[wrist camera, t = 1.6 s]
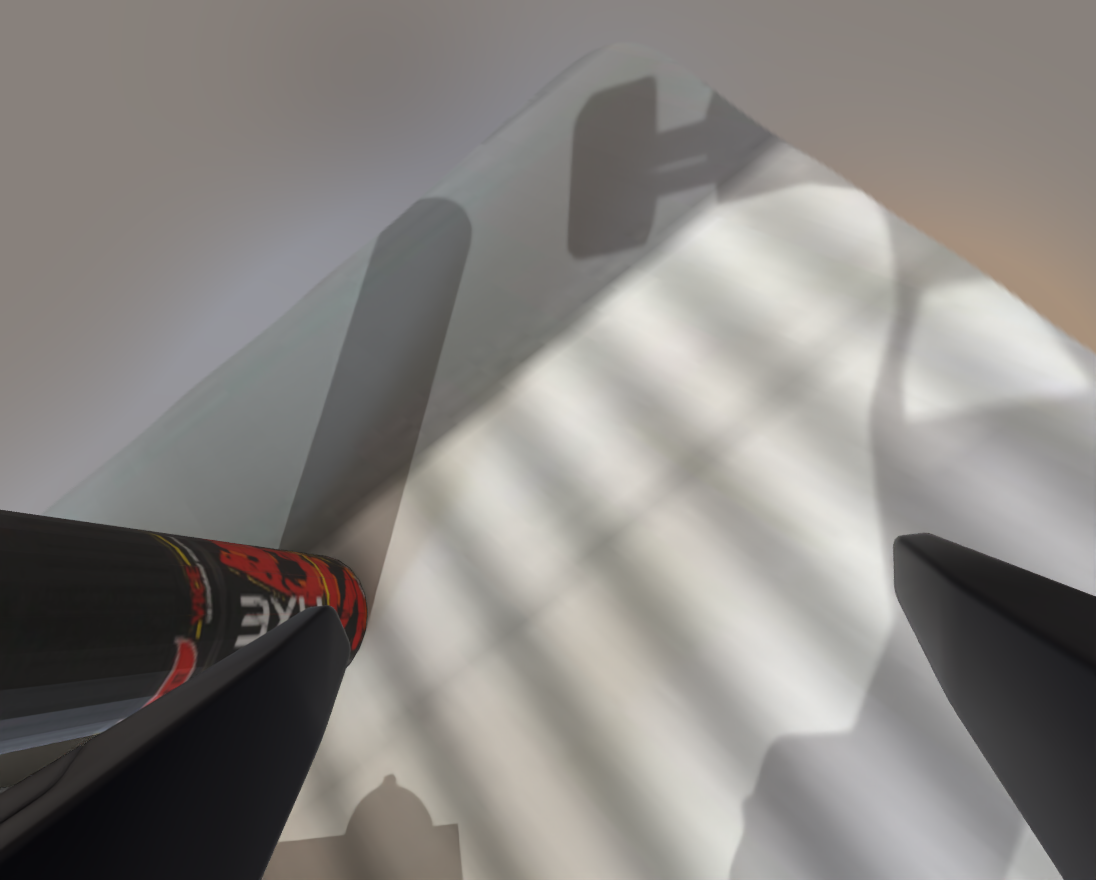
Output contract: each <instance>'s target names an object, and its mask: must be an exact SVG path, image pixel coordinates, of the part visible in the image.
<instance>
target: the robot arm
mask: <svg viewBox="0 0 1096 880" xmlns="http://www.w3.org/2000/svg"><path fill="white" fill-rule="evenodd" d="M893 561H894V587H895V592H896V596H897V599H898V601H899V603H900V605H901V607H902V609H903V611H904V613H905V615H906V617H907V619H908V621H909V623H910V625H911V627H912V629H913V631H914V633H915V635H916V637H917V639H918V641H919V643H920V645H921V647H922V649H923V651H924V653H925V655H926V657H927V659H928V661H929V663H930V665H931V667H932V669H933V671H934V673H935V675H936V677H937V679H938V681H939V683H940V685H941V687H942V689H943V691H944V693H945V695H946V697H947V698H948V700H949V702H950V704H951V705H952V707H953V708H954V710H955V712H956V713H957V715H958V717H959V718H960V720H961V721H962V723H963V724H964V726H965V727H966V729H967V731H968V732H969V734H970V735H971V737H972V738H973V740H974V741H975V743H976V744H977V746H978V748H979V749H980V751H981V752H982V754H983V755H984V757H985V758H986V760H987V762H988V763H989V765H990V766H991V768H992V769H993V771H994V772H995V774H996V775H997V777H998V779H999V780H1000V782H1001V783H1002V785H1003V786H1004V788H1005V789H1006V791H1007V792H1008V794H1009V796H1010V797H1011V799H1012V800H1013V802H1014V803H1015V805H1016V806H1017V808H1018V809H1019V811H1020V813H1021V814H1022V816H1023V817H1024V819H1025V820H1026V822H1027V823H1028V825H1029V826H1030V828H1031V830H1032V831H1033V833H1034V834H1035V836H1036V837H1037V839H1038V840H1039V842H1040V843H1041V845H1042V847H1043V848H1044V850H1045V851H1046V853H1047V854H1048V856H1049V857H1050V859H1051V860H1052V862H1053V864H1054V865H1055V867H1056V868H1057V870H1058V871H1059V873H1060V874H1061V876H1062V877H1063V879H1064V880H1096V596H1093V595H1090V594H1088V593H1085V592H1083V591H1080V590H1077V589H1075V588H1072V587H1069V586H1067V585H1064V584H1062V583H1059V582H1056V581H1054V580H1051V579H1048V578H1046V577H1043V576H1041V575H1038V574H1035V573H1033V572H1030V571H1027V570H1025V569H1022V568H1020V567H1017V566H1014V565H1012V564H1009V563H1006V562H1004V561H1001V560H999V559H996V558H993V557H991V556H988V555H985V554H983V553H980V552H978V551H975V550H972V549H970V548H967V547H964V546H962V545H959V544H957V543H954V542H951V541H949V540H946V539H943V538H941V537H938V536H936V535H933V534H930V533H917V534H909V535H902V536H898V537H897V538H896V539H895V540H894V544H893ZM350 651H351V649H350V642H349V639H348V637H347V634H346V632H345V630H344V627H343V625H342V623H341V621H340V618H339V616H338V614H337V612H336V610H335V609H334V608H333V607H332V606H329V605H324V606H316V607H309V608H307V609H305V610H303V611H301V612H300V613H298V614H296V615H295V616H293V617H292V618H290V619H288V620H287V621H285V622H283V623H282V624H280V625H278V626H277V627H275V628H273V629H272V630H270V631H268V632H267V633H265V634H264V635H262V636H260V637H259V638H257V639H255V640H254V641H252V642H250V643H249V644H247V645H245V646H244V647H242V648H240V649H239V650H237V651H236V652H234V653H232V654H231V655H229V656H227V657H226V658H224V659H222V660H221V661H219V662H217V663H216V664H214V665H212V666H211V667H209V668H208V669H206V670H204V671H203V672H201V673H199V674H198V675H196V676H194V677H193V678H191V679H189V680H188V681H186V682H184V683H183V684H181V685H180V686H178V687H176V688H175V689H173V690H171V691H170V692H168V693H166V694H165V695H163V696H161V697H160V698H158V699H156V700H155V701H153V702H152V703H150V704H148V705H147V706H145V707H143V708H142V709H140V710H138V711H137V712H135V713H133V714H132V715H130V716H128V717H127V718H125V719H124V720H122V721H120V722H119V723H117V724H115V725H114V726H112V727H110V728H109V729H107V730H105V731H104V732H102V733H100V734H99V735H97V736H96V737H94V738H92V739H91V740H89V741H87V742H86V743H85V744H84V746H79V747H77V748H76V749H74V750H72V751H71V752H69V753H67V754H66V755H64V756H62V757H61V758H59V759H57V760H56V761H54V762H53V763H51V764H49V765H47V766H46V767H44V768H42V769H41V770H39V771H37V772H36V773H34V774H32V775H31V776H29V777H27V778H26V779H24V780H22V781H21V782H19V783H17V784H16V785H14V786H12V787H11V788H9V789H7V790H5V791H4V792H2V793H0V880H261V879H262V877H263V874H264V872H265V870H266V867H267V865H268V863H269V861H270V858H271V856H272V854H273V851H274V849H275V847H276V845H277V842H278V840H279V838H280V835H281V833H282V831H283V829H284V826H285V824H286V822H287V819H288V817H289V815H290V812H291V810H292V808H293V806H294V803H295V801H296V799H297V796H298V794H299V792H300V790H301V787H302V785H303V783H304V780H305V778H306V776H307V774H308V771H309V769H310V767H311V764H312V762H313V760H314V758H315V755H316V753H317V750H318V748H319V745H320V743H321V741H322V738H323V735H324V732H325V729H326V727H327V724H328V721H329V718H330V715H331V712H332V709H333V706H334V703H335V700H336V697H337V694H338V691H339V688H340V685H341V682H342V679H343V676H344V673H345V670H346V667H347V664H348V661H349V657H350Z"/></svg>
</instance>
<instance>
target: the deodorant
mask: <svg viewBox="0 0 1096 880" xmlns="http://www.w3.org/2000/svg"><path fill="white" fill-rule="evenodd" d="M324 605H329V606H332V607H333V608H334V609H335V610H336V612H337V614H338V616H339V618H340V621H341V623H342V625H343V627H344V630H345V632H346V634H347V637H348V639H349V642H350V649H351V651H350V657H349V661H348V664H347V667H348V666H349V664H350V663H351V661H352V660H353V658H354V656H355V655H356V653H357V651H358V650H359V648H360V645H361V642H362V639H363V636H364V633H365V629H366V619H367V607H366V599H365V594H364V592H363V589H362V586H361V584H360V581H359V580H358V578H357V577H356V576H355V574H354V573H353V572H352V570H351V569H350V568H349V567H347V566H346V565H345V564H343V563H342V562H340V561H339V560H336V559H333V558H330V557H326V556H321V555H314V554H307V553H300V552H293V551H286V550H278V549H271V548H264V547H257V546H250V545H243V544H236V543H229V542H222V541H215V540H208V539H201V538H194V537H187V536H180V535H173V534H166V533H159V532H152V531H145V530H138V529H131V528H124V527H117V526H110V525H103V524H96V523H89V522H82V521H75V520H68V519H61V518H54V517H47V516H40V515H33V514H26V513H19V512H12V511H5V510H0V754H4V753H9V752H14V751H19V750H23V749H28V748H33V747H38V746H42V745H47V744H52V743H57V742H61V741H66V740H71V739H76V738H80V737H85V736H90V735H95V734H99V733H102V732H104V731H105V730H107V729H109V728H110V727H112V726H114V725H115V724H117V723H119V722H120V721H122V720H124V719H125V718H127V717H128V716H130V715H132V714H133V713H135V712H137V711H138V710H140V709H142V708H143V707H145V706H147V705H148V704H150V703H152V702H153V701H155V700H156V699H158V698H160V697H161V696H163V695H165V694H166V693H168V692H170V691H171V690H173V689H175V688H176V687H178V686H180V685H181V684H183V683H184V682H186V681H188V680H189V679H191V678H193V677H194V676H196V675H198V674H199V673H201V672H203V671H204V670H206V669H208V668H209V667H211V666H212V665H214V664H216V663H217V662H219V661H221V660H222V659H224V658H226V657H227V656H229V655H231V654H232V653H234V652H236V651H237V650H239V649H240V648H242V647H244V646H245V645H247V644H249V643H250V642H252V641H254V640H255V639H257V638H259V637H260V636H262V635H264V634H265V633H267V632H268V631H270V630H272V629H273V628H275V627H277V626H278V625H280V624H282V623H283V622H285V621H287V620H288V619H290V618H292V617H293V616H295V615H296V614H298V613H300V612H301V611H303V610H305V609H307V608H309V607H316V606H324ZM347 667H346V668H347Z"/></svg>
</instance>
